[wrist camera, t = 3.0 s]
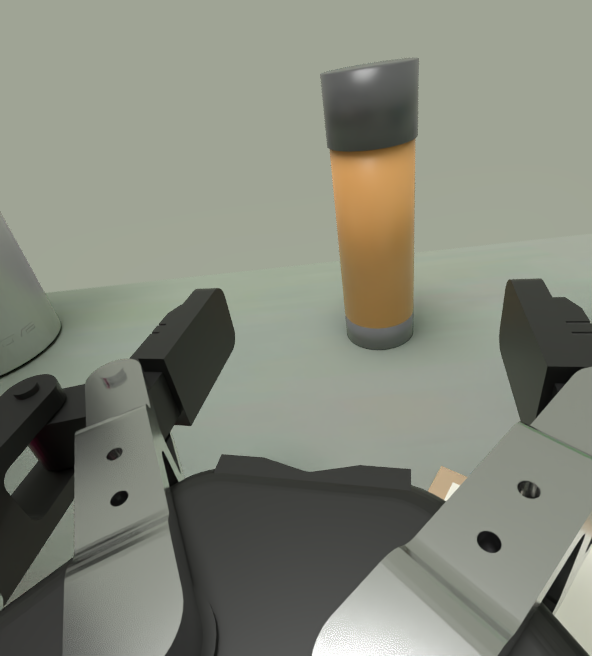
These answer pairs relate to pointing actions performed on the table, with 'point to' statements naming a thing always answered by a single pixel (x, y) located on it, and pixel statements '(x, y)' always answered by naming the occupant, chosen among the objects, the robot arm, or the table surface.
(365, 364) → the table surface
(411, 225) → the orange grey cylinder
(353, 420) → the table surface
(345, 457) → the table surface
